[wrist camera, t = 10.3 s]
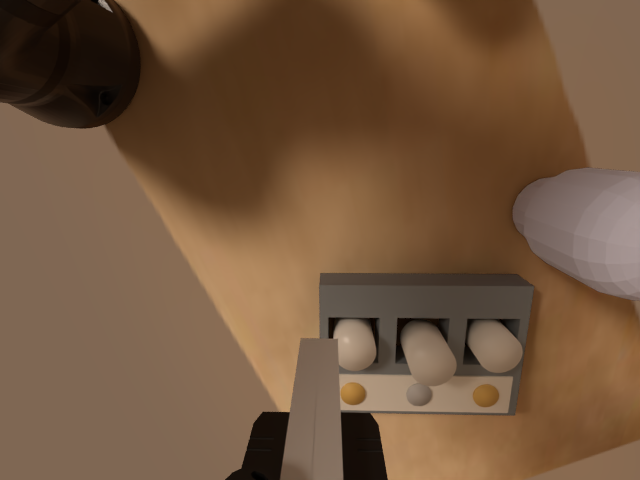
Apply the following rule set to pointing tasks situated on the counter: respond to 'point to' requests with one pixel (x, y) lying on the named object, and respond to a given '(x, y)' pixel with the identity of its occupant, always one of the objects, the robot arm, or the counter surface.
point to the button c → (493, 345)
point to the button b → (427, 353)
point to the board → (453, 311)
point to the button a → (354, 342)
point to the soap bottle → (586, 227)
